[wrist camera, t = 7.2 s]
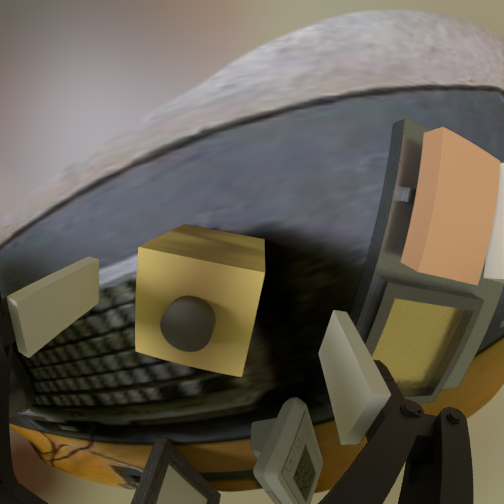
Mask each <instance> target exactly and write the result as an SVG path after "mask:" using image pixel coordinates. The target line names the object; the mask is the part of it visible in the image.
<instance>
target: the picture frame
mask: <svg viewBox="0 0 504 504" xmlns="http://www.w3.org/2000/svg"><path fill="white" fill-rule="evenodd" d="M220 495H221V494H220V493H219V492H218V491H217V490H216V489H215V488H213V487H212V486H211V485H210V484H209V483H208V482H207V481H206V480H205V479H204V478H203V477H202V476H201V475H200V474H199V473H198V472H197V471H196V470H195V469H194V468H193V467H192V466H191V465H190V463H189V462H188V461H187V460H186V459H185V458H184V457H183V456H182V455H181V454H180V453H179V451H178V450H177V449H176V448H175V447H174V446H173V445H172V443H171V442H170V441H169V440H168V439H167V438H156V440H155V443H154V445H153V448H152V450H151V453H150V455H149V458H148V461H147V463H146V466H145V468H144V471H143V473H142V476H141V478H140V481H139V484H138V486H137V489H136V491H135V494H134V497H133V500H132V502H131V504H219V502H220Z"/></svg>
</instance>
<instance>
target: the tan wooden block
mask: <svg viewBox="0 0 504 504" xmlns="http://www.w3.org/2000/svg"><path fill="white" fill-rule="evenodd" d="M264 276H265V239H260V238H255V237H249V236H244V235H239V234H234V233H229V232H223V231H218V230H213V229H208V228H202V227H197V226H192V225H186V224H183V225H181V226H179V227H177V228H175V229H173V230H171V231H169V232H167V233H165V234H163V235H161V236H159V237H157V238H155V239H153V240H151V241H149V242H147V243H145V244H143V245H141V246H139V249H138V262H137V278H136V305H135V348H136V352H139V353H143V354H146V355H149V356H153V357H156V358H160V359H163V360H167V361H171V362H175V363H178V364H182V365H186V366H191V367H195V368H199V369H203V370H208V371H213V372H217V373H222V374H227V375H233V376H238V377H242V374H243V370H244V365H245V361H246V357H247V352H248V348H249V343H250V339H251V335H252V330H253V326H254V321H255V317H256V312H257V308H258V303H259V299H260V294H261V289H262V285H263V280H264Z"/></svg>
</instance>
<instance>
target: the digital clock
mask: <svg viewBox="0 0 504 504" xmlns="http://www.w3.org/2000/svg"><path fill="white" fill-rule="evenodd" d="M251 449H252V451H253V452H254V454H255V456H256V457H257V459H258V460H257V462H256V464H255V466H254V469H253V473H254V476H255V478H256V479H257V481H258V482H259V483H260V485H261V486H262V488H263V489H264V490H265V492H266V493H267V494H268V495H269V497H270V498H271V499H272V500H273V502H274V503H275V504H310V503H311V500H312V497H313V494H314V491H315V488H316V485H317V482H318V479H319V476H320V472H321V469H322V465H323V459H322V455H321V452H320V448H319V445H318V442H317V438H316V435H315V431H314V428H313V425H312V421H311V418H310V415H309V411H308V408H307V405H306V403H304V402H303V401H302V400H301V399H299V398H298V397H293V398H290V399H289V400H287V401H286V402H285V403H284V404H283V406H282V408H281V410H280V412H279V414H278V417H277V418H273V419H268V420H262V421H256V422H253V423H252V427H251Z"/></svg>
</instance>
